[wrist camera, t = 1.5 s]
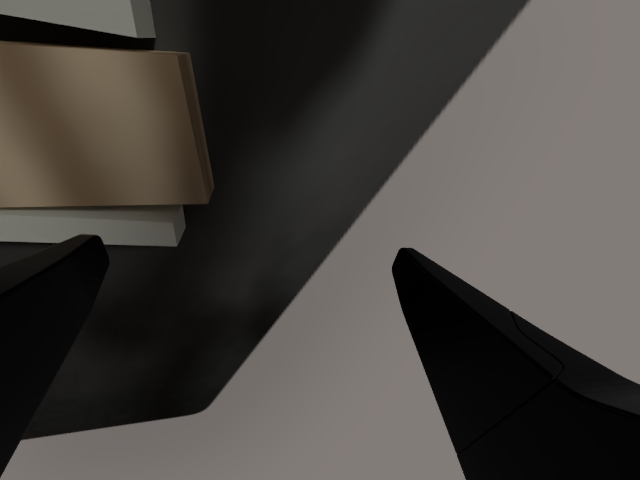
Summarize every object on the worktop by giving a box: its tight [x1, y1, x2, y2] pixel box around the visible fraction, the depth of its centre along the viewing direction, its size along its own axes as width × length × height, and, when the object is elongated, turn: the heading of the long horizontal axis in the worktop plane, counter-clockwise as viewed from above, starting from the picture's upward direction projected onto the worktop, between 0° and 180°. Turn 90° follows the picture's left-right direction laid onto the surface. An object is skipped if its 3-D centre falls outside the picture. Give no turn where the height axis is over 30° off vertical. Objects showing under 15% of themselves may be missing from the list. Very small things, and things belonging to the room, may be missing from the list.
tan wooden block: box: [0, 40, 214, 207], centre depth 15 cm, size 13×8×3 cm, turn 86°
